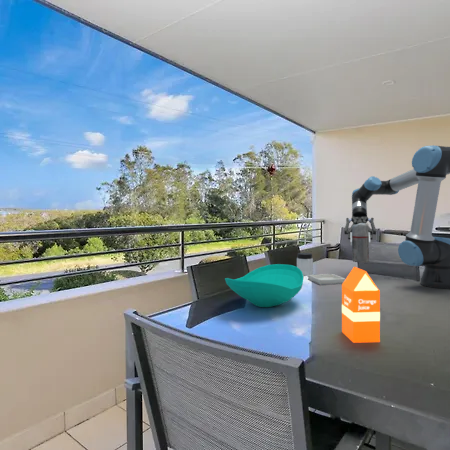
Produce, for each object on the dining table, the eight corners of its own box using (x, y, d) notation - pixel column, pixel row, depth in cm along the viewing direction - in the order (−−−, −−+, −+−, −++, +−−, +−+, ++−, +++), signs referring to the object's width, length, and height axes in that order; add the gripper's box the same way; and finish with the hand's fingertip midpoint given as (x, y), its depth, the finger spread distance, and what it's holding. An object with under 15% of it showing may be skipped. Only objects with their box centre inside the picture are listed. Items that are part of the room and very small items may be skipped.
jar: (306, 276, 193) (306, 255, 192) (294, 274, 199) (294, 253, 198) (315, 274, 199) (315, 253, 199) (303, 272, 205) (303, 252, 205)
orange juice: (366, 331, 106) (366, 266, 105) (380, 342, 97) (380, 271, 96) (341, 331, 106) (341, 266, 105) (352, 342, 97) (352, 271, 96)
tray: (346, 283, 173) (346, 278, 173) (319, 285, 171) (319, 280, 171) (332, 278, 187) (332, 273, 187) (308, 279, 185) (308, 275, 185)
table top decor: (257, 290, 161) (257, 262, 161) (316, 298, 146) (316, 266, 146) (207, 312, 128) (206, 276, 128) (276, 325, 113) (276, 284, 112)
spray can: (366, 263, 173) (366, 223, 172) (349, 262, 178) (349, 223, 177) (371, 261, 179) (371, 222, 178) (354, 260, 184) (355, 222, 183)
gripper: (379, 216, 188) (382, 248, 174) (339, 216, 196) (338, 248, 181) (380, 206, 183) (383, 239, 169) (339, 207, 190) (338, 238, 176)
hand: (360, 243), depth 175 cm, fingers closed on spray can, 8 cm apart
